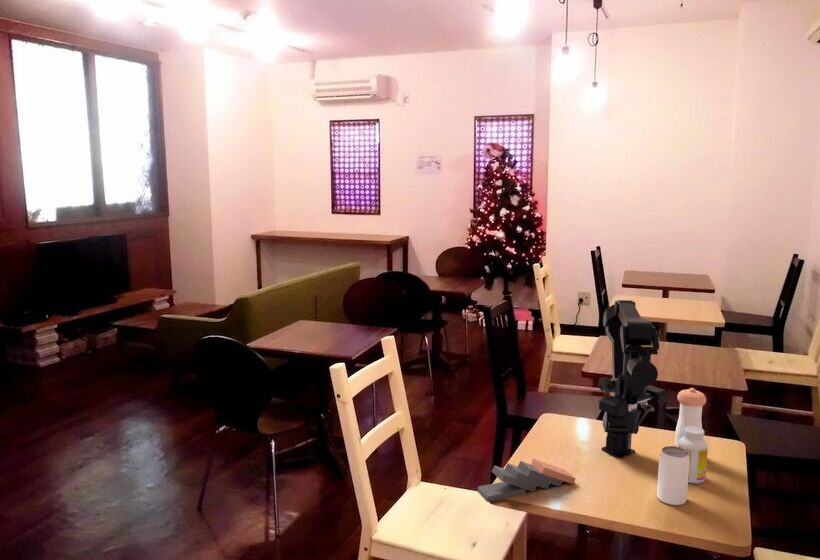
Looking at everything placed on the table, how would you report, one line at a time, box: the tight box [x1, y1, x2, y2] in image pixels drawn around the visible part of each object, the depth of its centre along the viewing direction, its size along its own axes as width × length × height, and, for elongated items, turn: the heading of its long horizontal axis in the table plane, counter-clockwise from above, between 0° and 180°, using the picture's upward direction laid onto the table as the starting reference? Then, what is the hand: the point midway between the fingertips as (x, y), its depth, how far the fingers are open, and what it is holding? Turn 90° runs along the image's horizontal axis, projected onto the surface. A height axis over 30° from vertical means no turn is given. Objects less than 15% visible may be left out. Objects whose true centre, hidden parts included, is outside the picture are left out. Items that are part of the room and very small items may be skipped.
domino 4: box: [517, 460, 563, 488], centre depth 158 cm, size 2×5×10 cm
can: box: [656, 445, 689, 507], centre depth 151 cm, size 6×6×12 cm
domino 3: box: [504, 462, 551, 490], centre depth 157 cm, size 2×5×10 cm
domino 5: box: [530, 458, 577, 485], centre depth 159 cm, size 2×5×10 cm
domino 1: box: [491, 465, 538, 493], centre depth 155 cm, size 2×5×10 cm
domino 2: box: [477, 481, 526, 503], centre depth 155 cm, size 2×5×10 cm
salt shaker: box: [672, 387, 707, 447], centre depth 172 cm, size 7×7×19 cm
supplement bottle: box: [678, 426, 709, 485], centre depth 161 cm, size 7×7×13 cm
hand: (631, 433), depth 160 cm, fingers closed
